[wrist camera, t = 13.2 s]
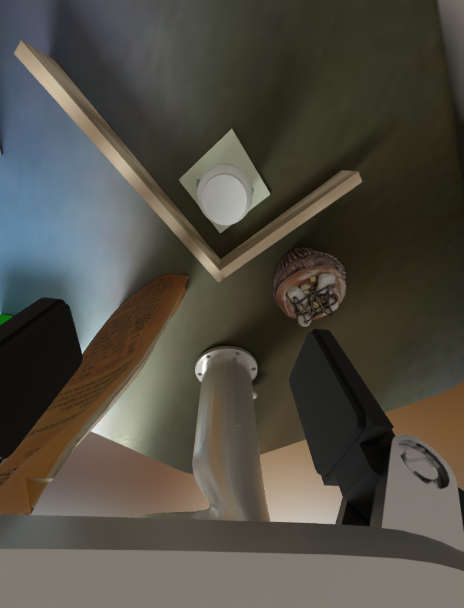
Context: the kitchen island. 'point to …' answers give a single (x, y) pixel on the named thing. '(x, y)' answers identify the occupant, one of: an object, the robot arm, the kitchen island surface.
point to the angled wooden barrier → (151, 191)
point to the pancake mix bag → (89, 392)
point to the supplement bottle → (224, 194)
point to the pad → (227, 153)
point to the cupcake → (309, 284)
